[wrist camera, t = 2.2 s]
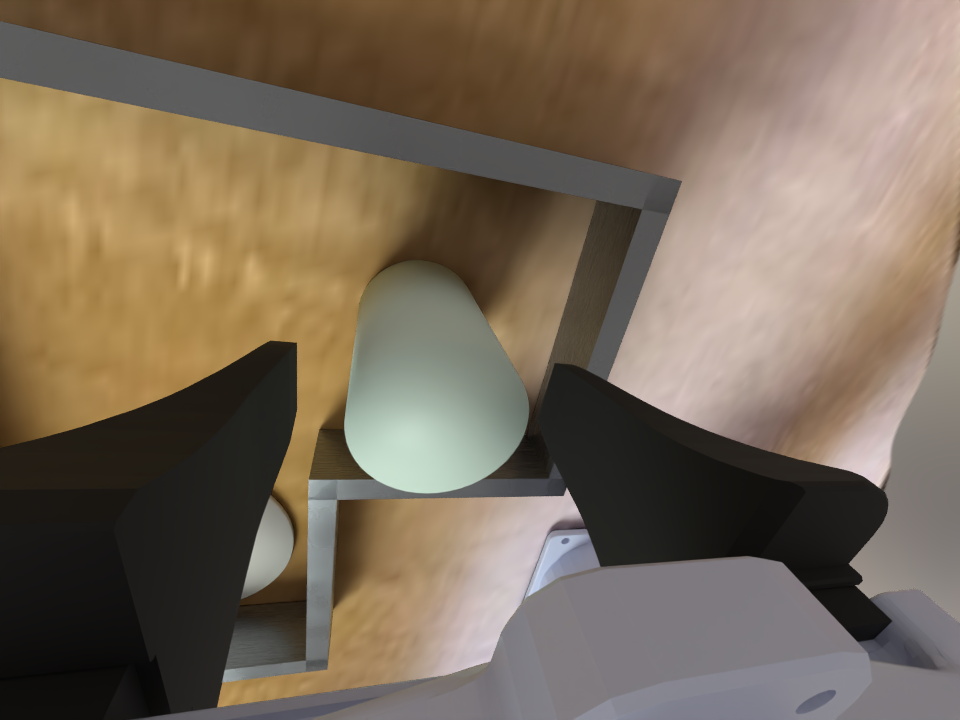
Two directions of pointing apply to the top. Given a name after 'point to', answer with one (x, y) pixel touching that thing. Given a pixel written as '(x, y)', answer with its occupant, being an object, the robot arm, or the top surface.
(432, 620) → the top surface
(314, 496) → the grey notched frame
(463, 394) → the peg
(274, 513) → the end pad
